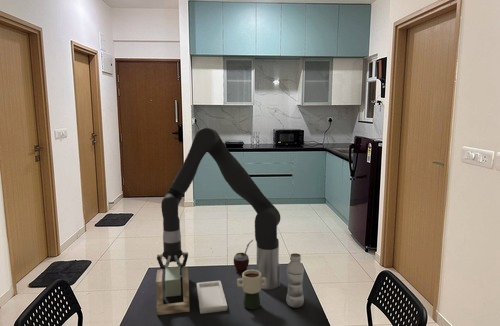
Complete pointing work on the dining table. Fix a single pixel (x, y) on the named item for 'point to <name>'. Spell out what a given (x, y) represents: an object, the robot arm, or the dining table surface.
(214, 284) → the tray
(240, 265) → the mate gourd
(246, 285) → the character mug
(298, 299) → the plastic bottle
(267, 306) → the dining table surface
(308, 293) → the dining table surface
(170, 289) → the green block with tab
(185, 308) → the bay
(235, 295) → the dining table surface
